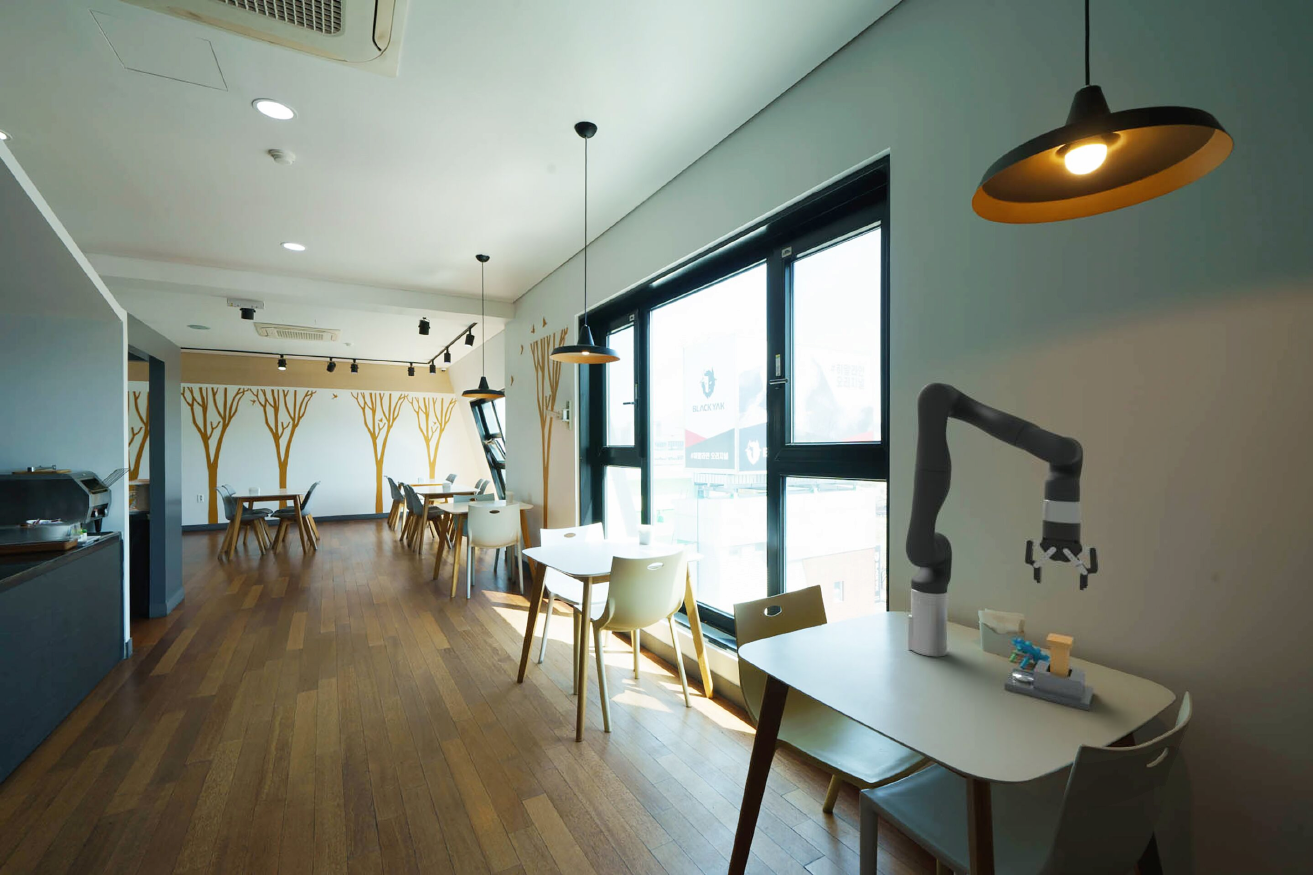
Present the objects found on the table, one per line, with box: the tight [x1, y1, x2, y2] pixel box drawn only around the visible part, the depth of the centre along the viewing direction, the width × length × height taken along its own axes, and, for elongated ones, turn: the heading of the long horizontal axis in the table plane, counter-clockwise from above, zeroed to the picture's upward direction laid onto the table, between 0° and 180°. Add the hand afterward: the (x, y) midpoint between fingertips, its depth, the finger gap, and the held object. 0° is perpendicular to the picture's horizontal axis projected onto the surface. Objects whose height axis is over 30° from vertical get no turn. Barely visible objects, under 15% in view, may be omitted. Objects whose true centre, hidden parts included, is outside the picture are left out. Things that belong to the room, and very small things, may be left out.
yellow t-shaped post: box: [1045, 632, 1075, 677], centre depth 133 cm, size 5×6×11 cm
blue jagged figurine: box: [1009, 637, 1050, 669], centre depth 149 cm, size 11×6×10 cm
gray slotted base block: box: [1004, 660, 1094, 712], centre depth 134 cm, size 16×12×6 cm
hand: (1060, 586), depth 137 cm, fingers open, 8 cm apart
